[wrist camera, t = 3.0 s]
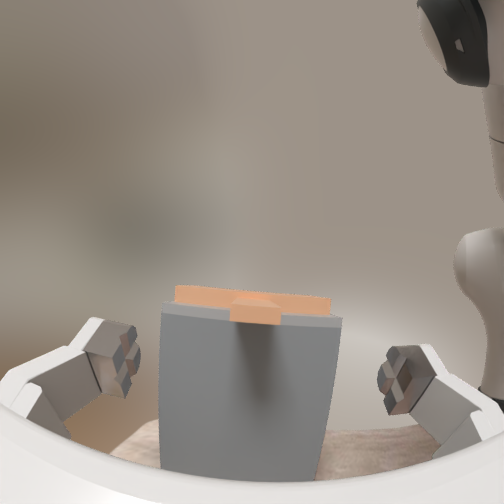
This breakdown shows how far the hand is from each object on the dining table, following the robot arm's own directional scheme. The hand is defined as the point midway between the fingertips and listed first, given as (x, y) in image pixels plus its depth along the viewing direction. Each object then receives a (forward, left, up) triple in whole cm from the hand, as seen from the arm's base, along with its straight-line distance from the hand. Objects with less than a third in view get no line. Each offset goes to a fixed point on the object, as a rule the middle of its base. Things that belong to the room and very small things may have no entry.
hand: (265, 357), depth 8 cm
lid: (0, -23, 0) cm, 23 cm away
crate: (0, -27, -26) cm, 38 cm away
